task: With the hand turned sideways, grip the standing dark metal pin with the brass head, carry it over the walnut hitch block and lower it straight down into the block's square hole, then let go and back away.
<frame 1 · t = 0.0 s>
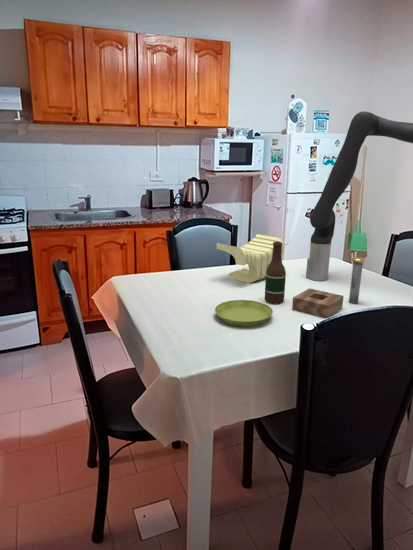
slatted curved stool: (249, 278, 196), on the table
steel pin: (353, 302, 165), on the table
saucer: (243, 318, 149), on the table
beer bottle: (274, 301, 166), on the table
hitch block: (317, 309, 158), on the table
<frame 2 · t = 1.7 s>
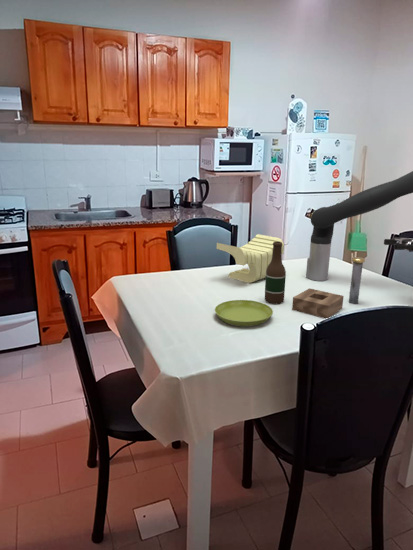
hand: (389, 244, 158), 24 cm above the table, tool horizontal, fingers open, 8 cm apart
nothing on the table moved.
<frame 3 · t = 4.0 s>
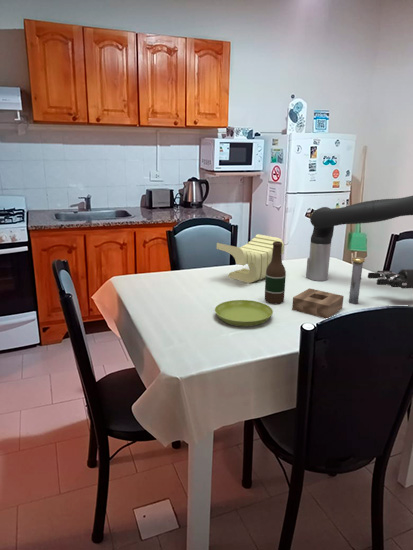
hand: (372, 278, 162), 10 cm above the table, tool horizontal, fingers open, 8 cm apart
nothing on the table moved.
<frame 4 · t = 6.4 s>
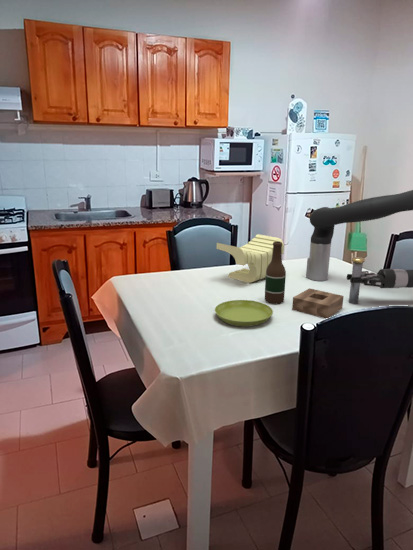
hand: (349, 278, 162), 10 cm above the table, tool horizontal, fingers closed on steel pin, 3 cm apart
steel pin: (353, 302, 165), on the table, touching gripper
everything else where it was.
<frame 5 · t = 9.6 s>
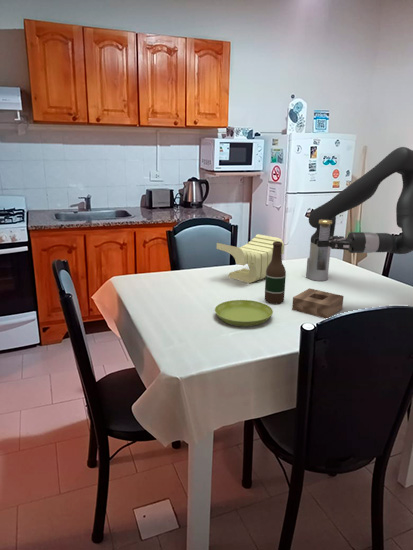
hand: (315, 242, 150), 26 cm above the table, tool horizontal, fingers closed on steel pin, 3 cm apart
steel pin: (321, 269, 153), point 16 cm above the table, touching gripper
everything else where it was.
when the fingers open (11 cm above the table, at t = 13.2 s): steel pin drops 1 cm, resting in hitch block.
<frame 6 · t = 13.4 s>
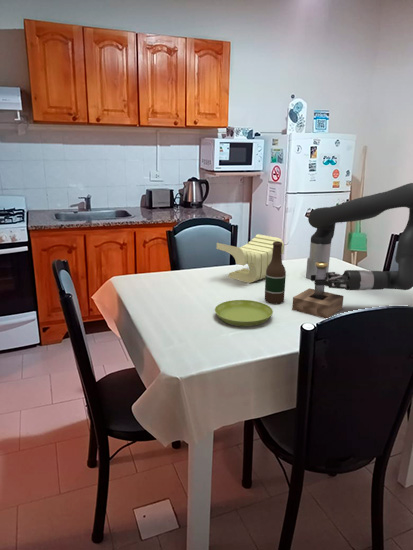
hand: (313, 280, 154), 11 cm above the table, tool horizontal, fingers open, 5 cm apart
steel pin: (317, 308, 158), resting in hitch block
everything else where it was.
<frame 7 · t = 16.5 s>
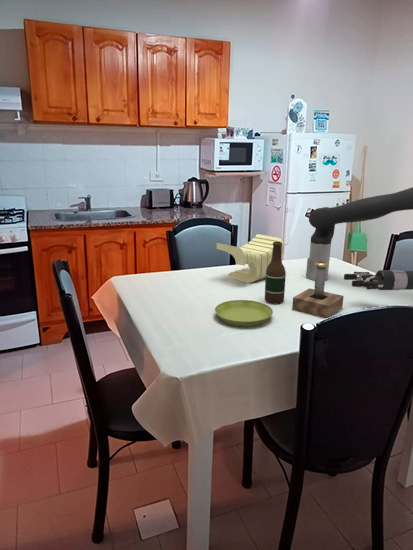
hand: (348, 280, 155), 12 cm above the table, tool horizontal, fingers open, 8 cm apart
nothing on the table moved.
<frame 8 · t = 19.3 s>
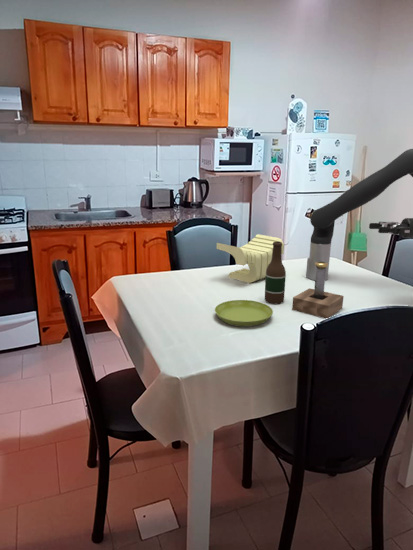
hand: (374, 227, 156), 30 cm above the table, tool horizontal, fingers open, 8 cm apart
nothing on the table moved.
at the end: steel pin 0.1 cm off-centre on the hitch block, point 0.0 cm above the hitch block's base; steel pin tilted 0°; the gripper is holding nothing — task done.
